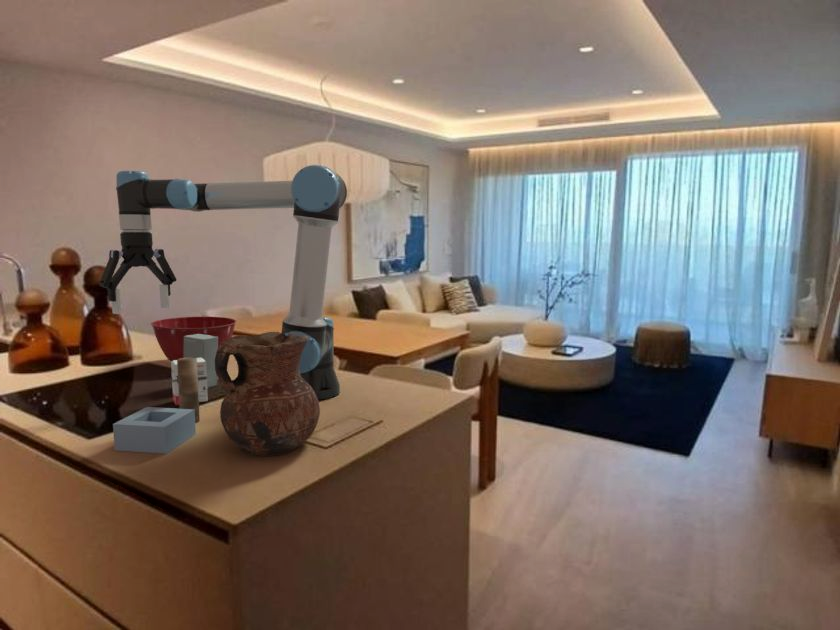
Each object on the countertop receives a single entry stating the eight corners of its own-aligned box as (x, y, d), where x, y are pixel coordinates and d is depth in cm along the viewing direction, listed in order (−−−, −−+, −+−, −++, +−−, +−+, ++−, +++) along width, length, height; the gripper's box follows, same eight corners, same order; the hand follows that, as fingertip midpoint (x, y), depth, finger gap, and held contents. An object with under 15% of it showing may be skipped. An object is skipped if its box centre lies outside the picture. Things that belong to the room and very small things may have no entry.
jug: (265, 423, 137) (262, 325, 134) (337, 435, 129) (336, 332, 126) (199, 455, 117) (193, 340, 113) (279, 472, 109) (276, 350, 106)
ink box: (175, 405, 150) (173, 364, 148) (172, 401, 154) (170, 360, 152) (208, 401, 154) (206, 360, 153) (204, 396, 159) (202, 357, 157)
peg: (203, 418, 140) (200, 357, 137) (193, 424, 135) (190, 361, 133) (186, 417, 140) (183, 357, 138) (176, 423, 136) (173, 361, 134)
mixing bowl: (218, 351, 219) (217, 313, 217) (250, 364, 198) (249, 322, 196) (143, 361, 200) (140, 320, 198) (169, 377, 179) (167, 330, 177)
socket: (195, 433, 129) (194, 409, 128) (166, 453, 117) (164, 427, 117) (148, 431, 131) (147, 406, 130) (114, 450, 119) (112, 424, 118)
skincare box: (182, 386, 168) (179, 336, 166) (199, 381, 175) (197, 332, 172) (203, 390, 165) (201, 338, 163) (220, 384, 172) (218, 334, 169)
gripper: (170, 231, 157) (175, 304, 160) (79, 231, 136) (86, 315, 139) (186, 231, 153) (191, 306, 156) (95, 231, 132) (102, 317, 135)
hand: (141, 310), depth 148 cm, fingers open, 13 cm apart
